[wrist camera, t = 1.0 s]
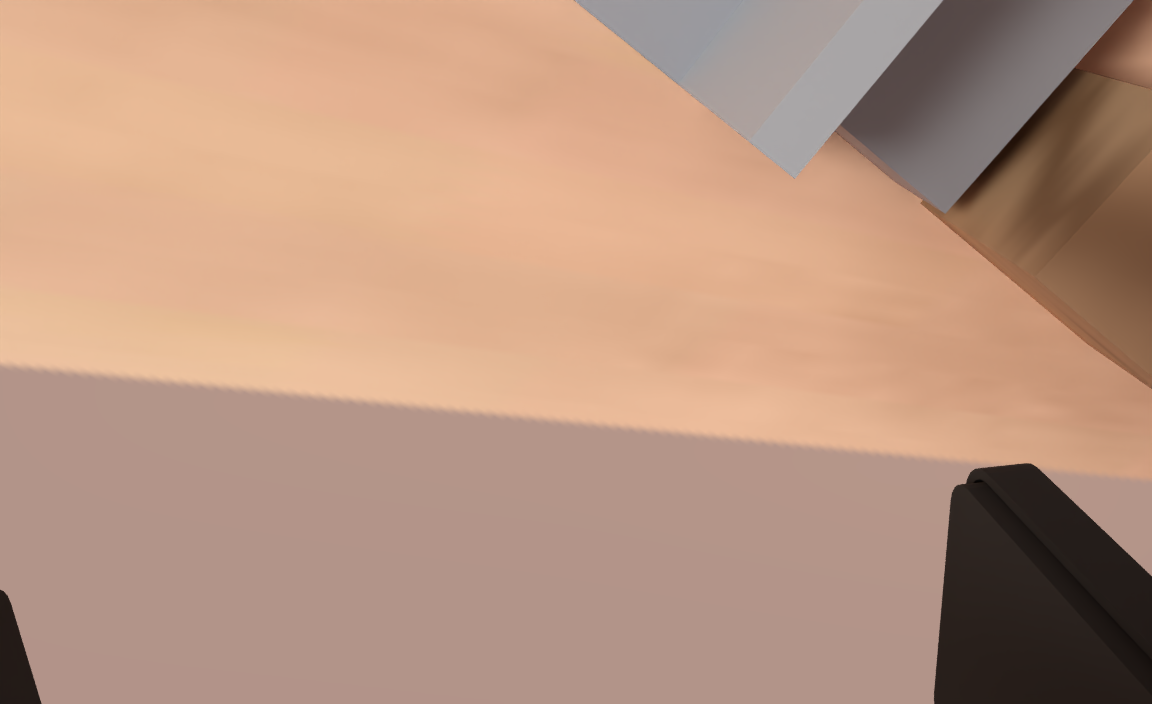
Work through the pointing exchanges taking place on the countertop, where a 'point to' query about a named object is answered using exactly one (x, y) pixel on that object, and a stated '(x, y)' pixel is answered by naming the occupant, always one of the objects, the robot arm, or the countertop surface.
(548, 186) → the countertop surface
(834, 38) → the wall board
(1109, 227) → the tan wooden block
